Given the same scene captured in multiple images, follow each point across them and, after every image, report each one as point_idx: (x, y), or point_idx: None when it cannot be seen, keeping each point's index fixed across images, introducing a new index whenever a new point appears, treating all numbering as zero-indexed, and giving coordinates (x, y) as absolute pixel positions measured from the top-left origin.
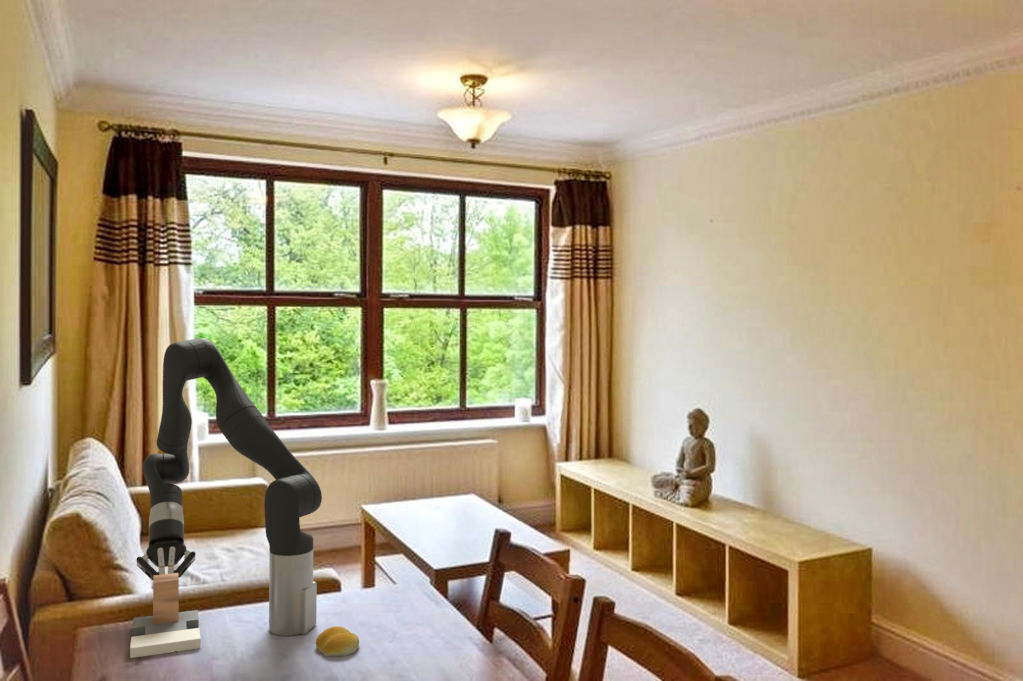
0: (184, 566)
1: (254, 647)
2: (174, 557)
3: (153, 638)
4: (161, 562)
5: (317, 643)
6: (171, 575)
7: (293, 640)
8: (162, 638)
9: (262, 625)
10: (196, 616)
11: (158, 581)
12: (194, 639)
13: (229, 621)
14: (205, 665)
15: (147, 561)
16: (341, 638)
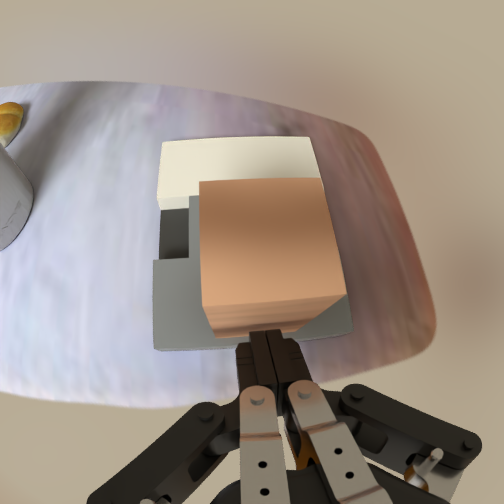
0: (170, 434)
1: (78, 145)
2: (241, 485)
3: (268, 166)
4: (333, 444)
5: (17, 119)
6: (241, 265)
7: (23, 162)
8: (247, 159)
9: (31, 244)
10: (157, 286)
11: (298, 186)
12: (175, 141)
13: (82, 297)
14: (168, 101)
15: (418, 466)
16: (1, 104)
